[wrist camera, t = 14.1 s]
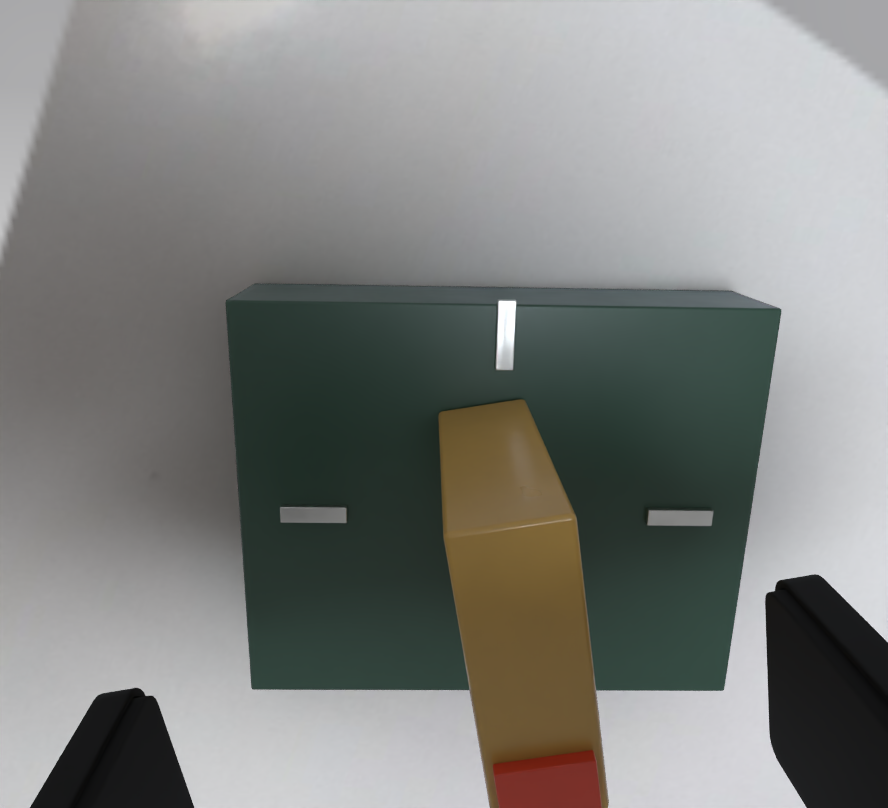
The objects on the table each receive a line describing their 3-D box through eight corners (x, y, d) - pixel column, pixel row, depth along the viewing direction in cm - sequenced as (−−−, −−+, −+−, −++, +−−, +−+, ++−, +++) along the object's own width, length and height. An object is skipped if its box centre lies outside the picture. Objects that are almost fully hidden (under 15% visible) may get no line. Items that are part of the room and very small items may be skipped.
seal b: (438, 410, 15) (443, 542, 10) (525, 397, 15) (580, 521, 10) (472, 621, 16) (494, 841, 11) (552, 609, 16) (614, 824, 11)
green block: (273, 630, 19) (249, 698, 17) (253, 278, 17) (221, 296, 14) (687, 632, 20) (726, 699, 17) (733, 286, 17) (787, 305, 14)
